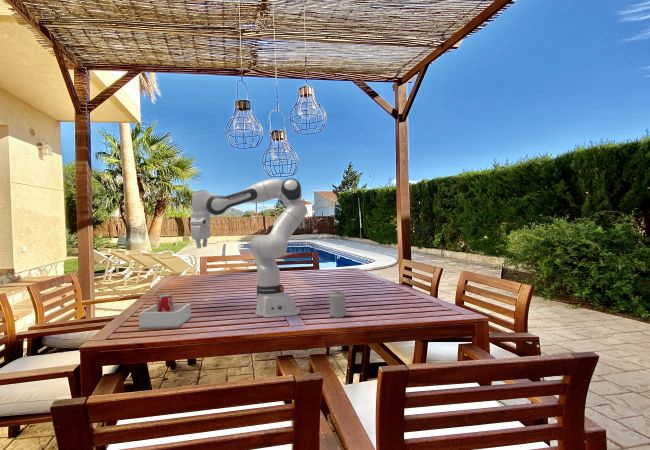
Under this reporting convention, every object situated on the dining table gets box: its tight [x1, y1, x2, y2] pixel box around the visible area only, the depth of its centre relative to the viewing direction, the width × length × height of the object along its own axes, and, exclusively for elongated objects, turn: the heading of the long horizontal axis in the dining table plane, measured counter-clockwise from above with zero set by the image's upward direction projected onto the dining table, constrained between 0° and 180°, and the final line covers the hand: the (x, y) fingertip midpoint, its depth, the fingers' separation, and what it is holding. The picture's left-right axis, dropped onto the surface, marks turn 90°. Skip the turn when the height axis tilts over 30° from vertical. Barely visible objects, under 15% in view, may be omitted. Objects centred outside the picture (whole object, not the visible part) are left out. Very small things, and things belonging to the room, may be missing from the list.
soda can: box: [156, 293, 174, 312], centre depth 174 cm, size 7×7×12 cm
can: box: [329, 289, 347, 319], centre depth 179 cm, size 8×8×12 cm
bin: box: [138, 303, 192, 330], centre depth 174 cm, size 17×17×7 cm
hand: (201, 247), depth 198 cm, fingers open, 8 cm apart
